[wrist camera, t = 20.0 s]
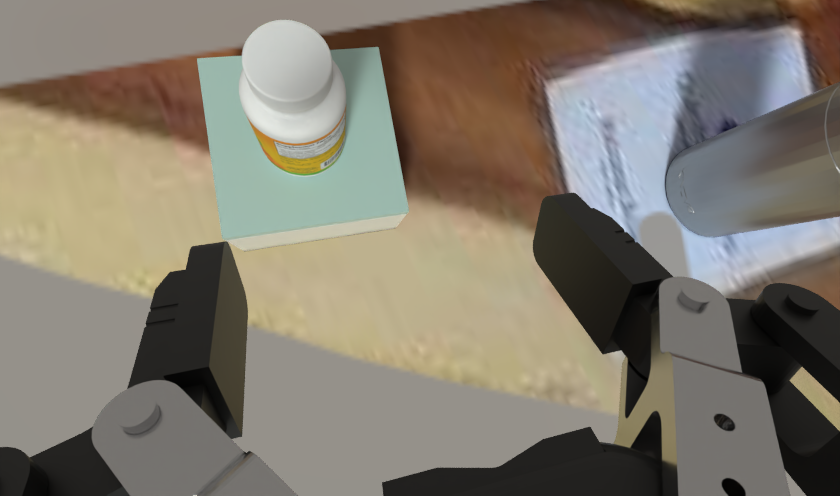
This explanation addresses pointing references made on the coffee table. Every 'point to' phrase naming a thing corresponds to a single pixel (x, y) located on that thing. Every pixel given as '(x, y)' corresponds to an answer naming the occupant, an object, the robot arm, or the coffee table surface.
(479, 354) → the coffee table surface
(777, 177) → the robot arm
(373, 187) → the lid
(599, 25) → the coffee table surface
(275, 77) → the supplement bottle
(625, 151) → the coffee table surface
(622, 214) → the coffee table surface
